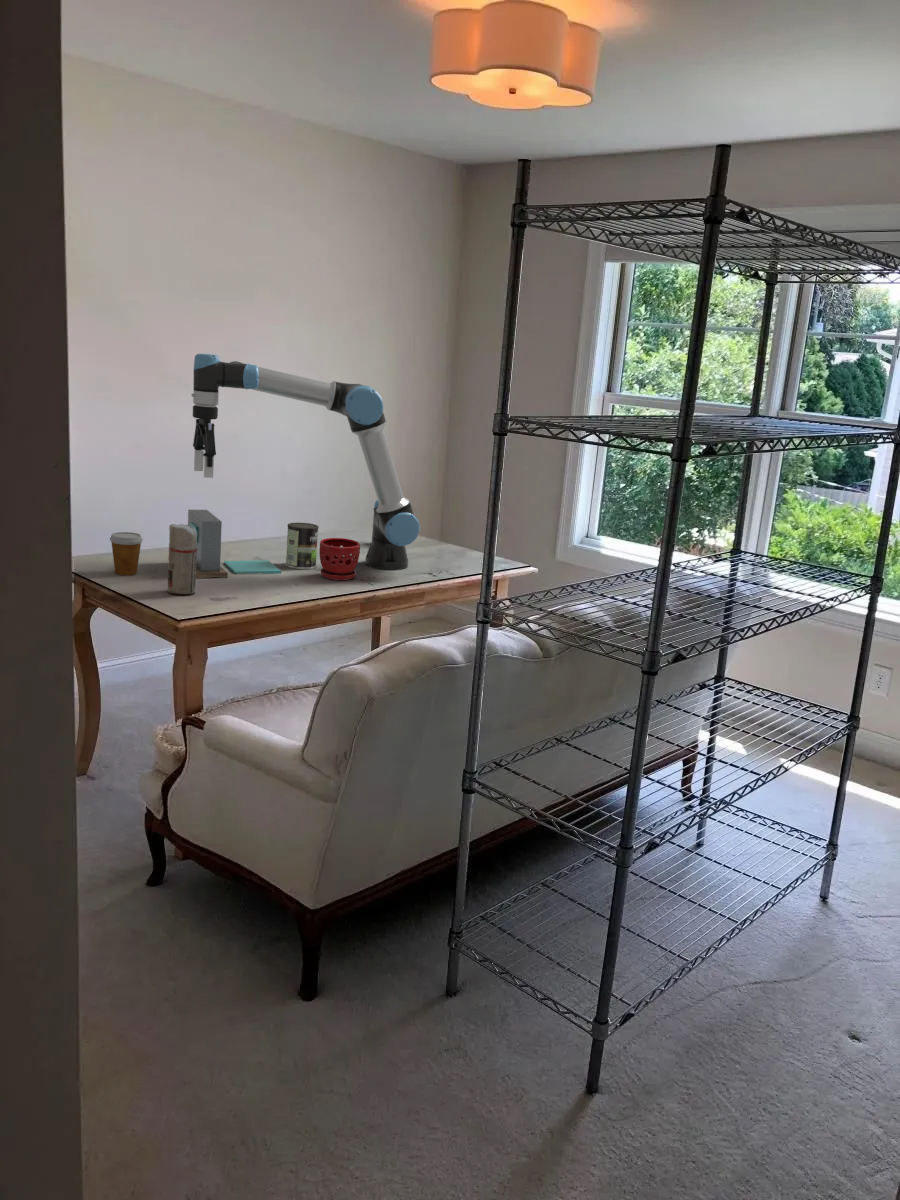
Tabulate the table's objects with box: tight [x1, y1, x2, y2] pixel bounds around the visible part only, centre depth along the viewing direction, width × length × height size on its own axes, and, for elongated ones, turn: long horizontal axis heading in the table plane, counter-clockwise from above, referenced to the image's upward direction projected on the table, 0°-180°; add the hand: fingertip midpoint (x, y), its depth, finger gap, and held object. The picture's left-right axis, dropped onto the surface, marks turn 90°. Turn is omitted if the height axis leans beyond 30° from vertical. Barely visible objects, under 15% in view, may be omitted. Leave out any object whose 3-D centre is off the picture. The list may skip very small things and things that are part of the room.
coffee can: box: [285, 522, 319, 570], centre depth 332 cm, size 10×10×14 cm
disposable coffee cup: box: [109, 531, 143, 577], centre depth 302 cm, size 10×10×12 cm
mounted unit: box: [187, 509, 229, 579], centre depth 315 cm, size 24×10×18 cm, turn 26°
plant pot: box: [319, 537, 361, 581], centre depth 322 cm, size 13×13×12 cm
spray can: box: [166, 523, 197, 595], centre depth 285 cm, size 8×8×20 cm
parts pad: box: [223, 559, 282, 574], centre depth 324 cm, size 15×15×1 cm
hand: (203, 474), depth 309 cm, fingers open, 13 cm apart
